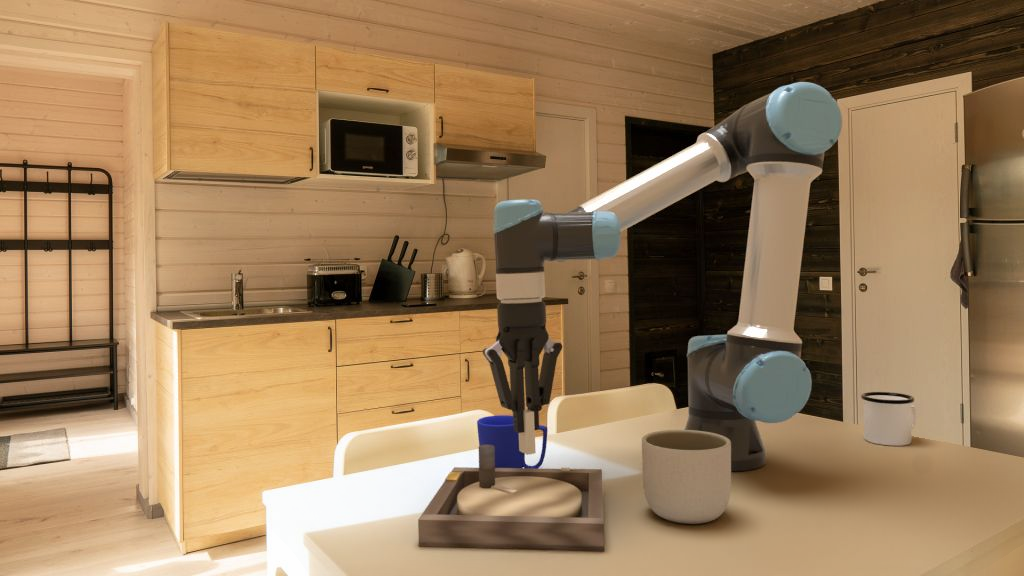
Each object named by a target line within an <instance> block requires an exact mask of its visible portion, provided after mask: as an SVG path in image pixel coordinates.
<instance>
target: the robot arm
mask: <svg viewBox="0 0 1024 576" xmlns="http://www.w3.org/2000/svg"><path fill="white" fill-rule="evenodd" d="M842 129H843V116H842V111H841V108H840V106H839V104H838V102H837V100H836V99H835V98H833V96H832V95H831V93H830V92H829V91H828V90H827V89H825V88H824V87H822V86H821V85H819V84H816V83H813V82H807V81H799V82H794V83H791V84H787V85H782V86H779V87H777V88H776V89H775V90H773V91H772V92H771V93H768V94H766V95H763V96H761V97H759V98H757V99H755V100H753V101H750V102H748V103H747V104H745V105H743V106H741V107H740V108H739V109H737V110H736V111H734V112H733V113H732V114H730V115H729V116H728V117H726V118H724V119H723V120H722V121H720V122H719V123H717V124H716V125H714V126H713V127H711V128H710V129H708V130H707V131H706V130H705V132H703V133H701V134H699V135H698V136H697V139H696V142H695V143H694V144H692V145H690V146H688V147H686V148H685V149H682V150H681V151H679V152H677V153H675V154H673V155H672V156H669V157H668V158H666V159H664V160H661V162H658V163H656V164H654V165H652V166H651V167H649V168H647V169H645V170H643V171H641V172H640V173H638V174H635V175H634V176H631V177H630V178H628V179H626V180H625V181H623V182H621V183H619V184H617V185H616V186H614V187H612V188H610V189H608V190H606V191H604V192H602V193H600V194H598V195H597V196H595V197H593V198H591V199H589V200H587V201H585V202H584V203H582V204H580V205H578V206H576V207H575V208H572V209H570V210H568V211H567V212H544V209H543V206H542V202H541V201H539V200H537V199H510V200H503V201H500V202H498V203H497V204H496V205H495V206H494V209H493V232H492V233H493V241H494V245H493V246H494V260H495V261H494V262H495V285H496V289H495V290H496V298H497V300H500V303H498V304H497V305H496V310H497V314H496V315H497V327H498V333H497V335H496V338H495V342H494V343H493V344H492V345H491V346H490V347H489V348H488V347H484V349H483V350H482V354H483V356H484V357H485V359H486V360H487V362H488V363H489V367H490V371H491V374H492V377H493V381H494V385H495V389H496V392H497V396H498V399H499V403H500V406H501V407H502V408H504V409H507V410H509V411H512V416H513V428H514V431H515V432H518V433H519V451H521V452H523V453H525V455H534V454H536V432H535V431H539V430H538V429H539V425H540V414H539V412H540V411H541V410H542V409H543V406H545V405H549V404H550V402H551V397H552V390H553V384H554V378H555V374H556V367H557V361H558V357H559V356H560V353H561V351H562V350H563V344H562V343H561V342H556V341H554V340H553V339H552V338H550V335H549V333H548V331H547V327H546V325H547V306H546V305H547V304H546V303H545V301H543V300H542V299H544V298H545V297H546V282H545V279H546V278H545V262H554V261H555V262H559V263H560V262H561V263H562V262H566V261H584V260H587V261H589V260H596V261H599V260H602V259H603V260H606V259H612V258H615V257H616V256H617V254H618V253H619V251H620V247H621V239H622V234H621V233H622V231H625V230H627V229H628V228H630V227H633V225H634V226H635V225H636V224H638V223H639V222H642V221H644V220H646V219H647V218H649V217H651V216H652V215H655V214H656V213H658V212H660V211H662V210H664V209H665V208H667V207H669V206H671V205H673V204H674V203H677V202H678V201H680V200H682V199H684V198H686V197H687V196H689V195H691V194H693V193H695V192H697V191H699V190H700V189H703V188H704V187H707V186H709V185H710V184H712V183H714V182H715V181H717V182H719V183H725V182H727V181H729V180H731V179H733V178H735V177H737V176H738V175H742V174H745V173H747V172H748V173H749V174H750V175H751V176H752V179H753V180H754V182H753V190H752V197H751V198H752V200H751V208H750V216H749V224H748V225H749V227H748V233H747V243H746V251H745V258H744V259H745V261H744V267H743V268H744V269H743V277H742V287H741V294H740V295H741V296H740V303H739V315H738V320H737V323H736V325H734V326H733V327H732V328H730V329H729V330H727V333H726V334H715V335H714V334H713V335H697V336H692V337H691V338H690V339H689V340H688V343H687V344H688V345H687V353H686V358H687V396H688V397H687V398H688V415H687V416H688V417H687V421H686V424H685V427H684V430H696V431H704V432H710V433H715V434H719V435H722V436H724V437H726V438H728V439H729V440H730V441H731V472H740V471H750V470H754V469H756V470H757V469H759V468H761V467H763V466H765V465H766V449H765V446H764V443H763V439H762V436H761V435H760V431H759V428H758V425H757V421H759V422H760V423H765V424H778V423H782V422H783V423H784V422H785V421H788V420H790V419H792V418H793V417H794V416H795V415H796V414H797V413H800V412H801V411H802V409H804V407H805V405H806V404H807V402H808V401H809V398H810V395H811V391H812V384H813V381H812V374H811V372H810V370H809V368H808V367H807V366H806V363H805V362H804V360H803V359H801V357H802V355H801V354H802V347H803V340H802V338H800V337H799V335H798V334H797V333H796V332H795V330H794V328H795V317H796V311H797V301H798V294H799V293H798V292H799V284H800V283H799V282H800V275H801V267H802V258H803V250H804V239H805V235H806V234H805V233H806V223H807V216H808V206H809V199H810V198H809V197H810V188H811V183H812V182H813V181H814V180H815V179H816V178H817V177H819V176H820V175H822V172H823V166H824V165H823V164H824V158H825V152H826V151H828V150H830V149H831V148H832V147H833V146H834V144H835V143H836V142H837V141H838V140H839V137H840V136H841V133H842ZM543 350H544V353H543V355H542V361H541V363H540V355H541V353H542V351H543ZM502 352H503V353H502ZM502 354H504V355H505V357H507V365H508V367H509V381H508V377H507V372H506V369H505V365H504V363H503V360H502V356H503V355H502ZM540 364H541V366H540ZM539 366H540V373H539ZM526 407H527V408H526Z"/></svg>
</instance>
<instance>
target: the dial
mask: <svg viewBox="0 0 1024 576" xmlns="http://www.w3.org/2000/svg"><path fill="white" fill-rule="evenodd" d="M478 468H479V482H477V483H474V484H471V485H469V486H467V487H465V488H464V489H462V490H461V491H460V492H459V493H458V496H457V509H458V515H479V516H526V517H573V518H580V516H581V514H582V494H581V492H580V490H579V489H578V488H577V487H575V486H573V485H571V484H569V483H566V482H564V481H560V480H556V479H551V478H544V477H532V476H513V477H501V478H495V448H494V445H480V446H479V445H478Z"/></svg>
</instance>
